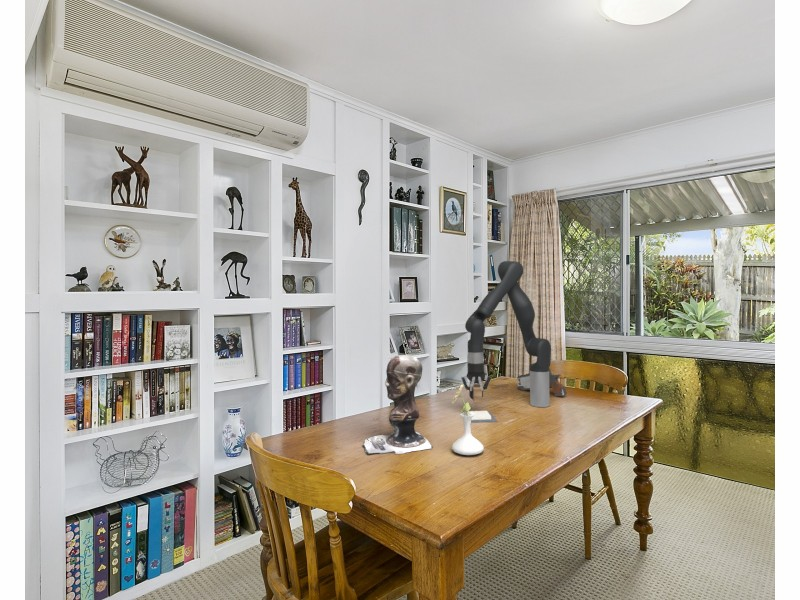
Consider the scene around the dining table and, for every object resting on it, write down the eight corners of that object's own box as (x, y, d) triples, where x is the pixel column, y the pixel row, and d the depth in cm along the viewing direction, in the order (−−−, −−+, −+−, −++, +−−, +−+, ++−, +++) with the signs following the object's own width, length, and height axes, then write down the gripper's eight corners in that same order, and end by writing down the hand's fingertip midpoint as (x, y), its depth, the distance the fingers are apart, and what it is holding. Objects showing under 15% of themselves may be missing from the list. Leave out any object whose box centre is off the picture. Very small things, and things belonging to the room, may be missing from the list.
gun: (526, 400, 257) (519, 374, 260) (568, 394, 237) (560, 366, 240) (521, 401, 254) (514, 375, 257) (563, 395, 234) (555, 367, 237)
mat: (460, 413, 210) (460, 412, 210) (490, 413, 210) (490, 412, 210) (465, 422, 196) (465, 421, 196) (497, 421, 196) (497, 420, 196)
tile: (467, 411, 206) (470, 416, 197) (486, 410, 206) (491, 416, 197) (467, 415, 206) (470, 420, 197) (487, 414, 206) (491, 420, 197)
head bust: (354, 438, 176) (361, 350, 176) (413, 436, 185) (420, 351, 185) (370, 458, 156) (378, 358, 156) (435, 455, 165) (443, 360, 165)
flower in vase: (462, 444, 169) (461, 378, 168) (489, 450, 161) (488, 381, 161) (443, 454, 158) (441, 384, 158) (471, 462, 151) (469, 388, 151)
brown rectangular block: (470, 397, 213) (470, 384, 213) (478, 396, 213) (477, 384, 213) (474, 402, 203) (474, 389, 203) (482, 402, 203) (481, 388, 203)
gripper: (489, 359, 211) (489, 396, 212) (459, 360, 211) (459, 396, 211) (492, 362, 204) (493, 400, 204) (461, 363, 204) (462, 400, 204)
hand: (476, 398), depth 208 cm, fingers closed on brown rectangular block, 3 cm apart
